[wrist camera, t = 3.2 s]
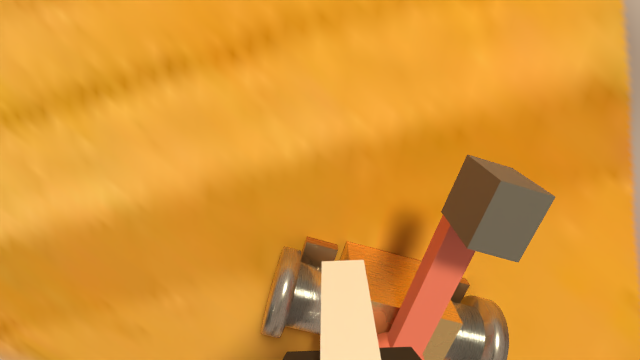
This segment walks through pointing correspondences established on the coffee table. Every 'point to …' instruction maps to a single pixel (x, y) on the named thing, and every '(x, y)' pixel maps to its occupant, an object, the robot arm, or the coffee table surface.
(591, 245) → the coffee table surface
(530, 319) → the coffee table surface
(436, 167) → the coffee table surface
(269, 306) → the valve pipe
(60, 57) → the coffee table surface
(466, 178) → the lever
